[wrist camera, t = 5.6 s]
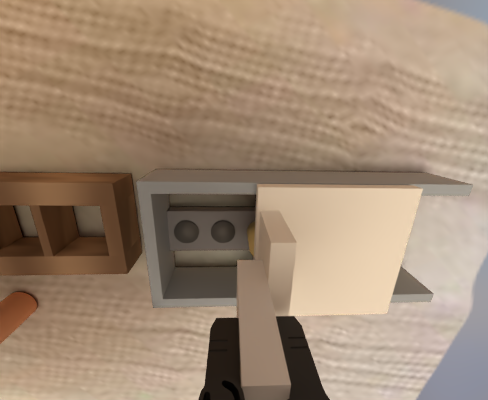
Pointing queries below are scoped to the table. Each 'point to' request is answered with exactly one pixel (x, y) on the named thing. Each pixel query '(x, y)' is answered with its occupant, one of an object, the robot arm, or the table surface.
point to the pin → (15, 312)
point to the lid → (333, 245)
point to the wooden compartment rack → (68, 224)
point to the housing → (240, 227)
